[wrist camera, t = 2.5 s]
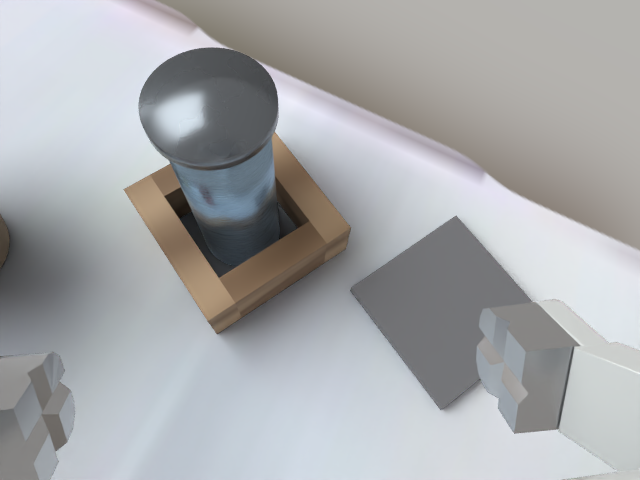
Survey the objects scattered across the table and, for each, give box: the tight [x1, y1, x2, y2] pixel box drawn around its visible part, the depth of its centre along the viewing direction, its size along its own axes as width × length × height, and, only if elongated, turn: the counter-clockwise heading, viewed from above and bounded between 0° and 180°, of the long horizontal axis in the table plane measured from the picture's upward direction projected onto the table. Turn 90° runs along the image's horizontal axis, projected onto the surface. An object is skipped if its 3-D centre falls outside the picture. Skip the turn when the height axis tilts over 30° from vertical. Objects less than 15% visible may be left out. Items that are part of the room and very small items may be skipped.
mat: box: [350, 216, 532, 410], centre depth 32 cm, size 9×9×1 cm
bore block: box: [124, 132, 351, 334], centre depth 32 cm, size 10×10×4 cm
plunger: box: [139, 48, 280, 266], centre depth 28 cm, size 6×6×14 cm
